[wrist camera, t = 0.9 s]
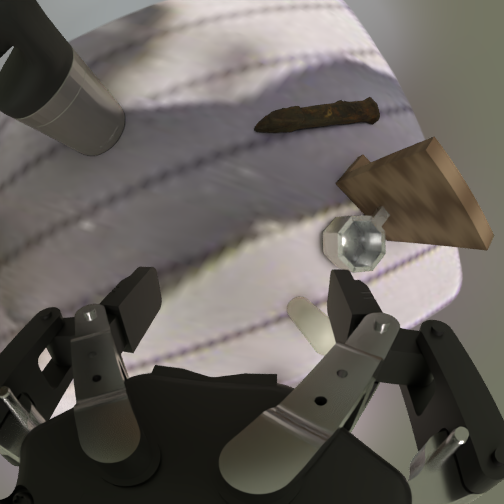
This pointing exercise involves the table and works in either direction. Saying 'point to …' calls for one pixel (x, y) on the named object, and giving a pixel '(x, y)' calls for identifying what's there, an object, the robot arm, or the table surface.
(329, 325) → the cream white cylinder
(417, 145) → the wooden bookend
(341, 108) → the hand tool
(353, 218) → the metal cup
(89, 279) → the table surface
